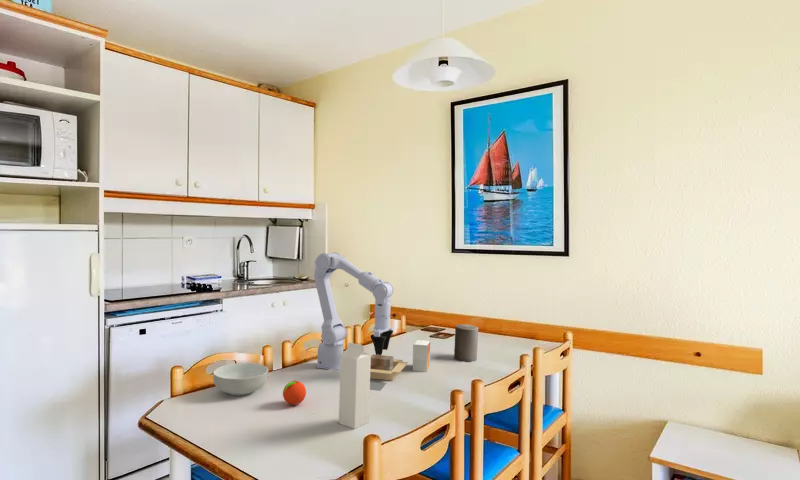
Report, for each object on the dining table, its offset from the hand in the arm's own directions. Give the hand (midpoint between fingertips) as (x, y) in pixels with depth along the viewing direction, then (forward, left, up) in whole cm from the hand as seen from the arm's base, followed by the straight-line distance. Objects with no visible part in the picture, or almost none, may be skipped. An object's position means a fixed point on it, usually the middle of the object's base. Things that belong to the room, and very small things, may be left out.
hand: (381, 352), depth 174 cm
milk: (+5, -44, -9) cm, 45 cm away
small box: (+13, +11, -9) cm, 19 cm away
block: (0, 0, -8) cm, 8 cm away
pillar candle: (+28, +32, -9) cm, 43 cm away
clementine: (-17, -37, -9) cm, 42 cm away
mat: (-1, -14, -8) cm, 16 cm away
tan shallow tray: (0, 0, -8) cm, 8 cm away
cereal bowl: (-38, -32, -9) cm, 50 cm away
